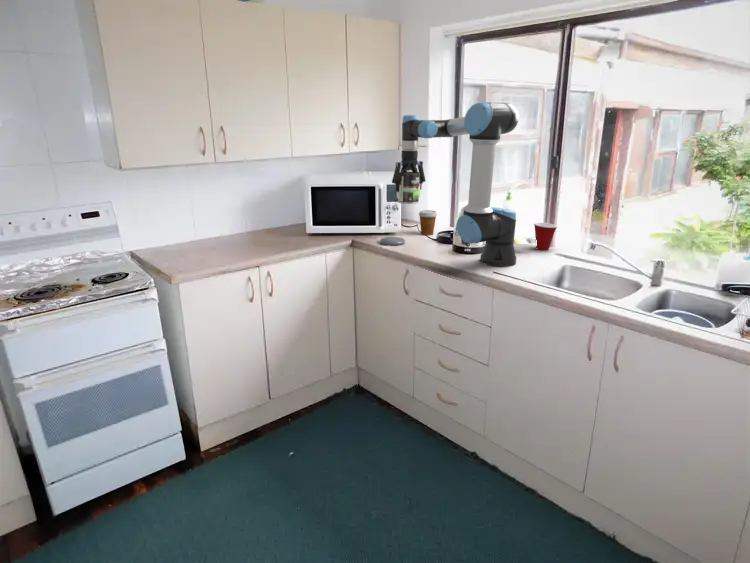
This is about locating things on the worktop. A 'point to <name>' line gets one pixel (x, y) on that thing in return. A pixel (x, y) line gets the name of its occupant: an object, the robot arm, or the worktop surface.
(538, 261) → the worktop surface
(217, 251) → the worktop surface
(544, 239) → the plastic cup
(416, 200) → the coffee can
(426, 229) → the disposable coffee cup
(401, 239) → the coaster
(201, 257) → the worktop surface
